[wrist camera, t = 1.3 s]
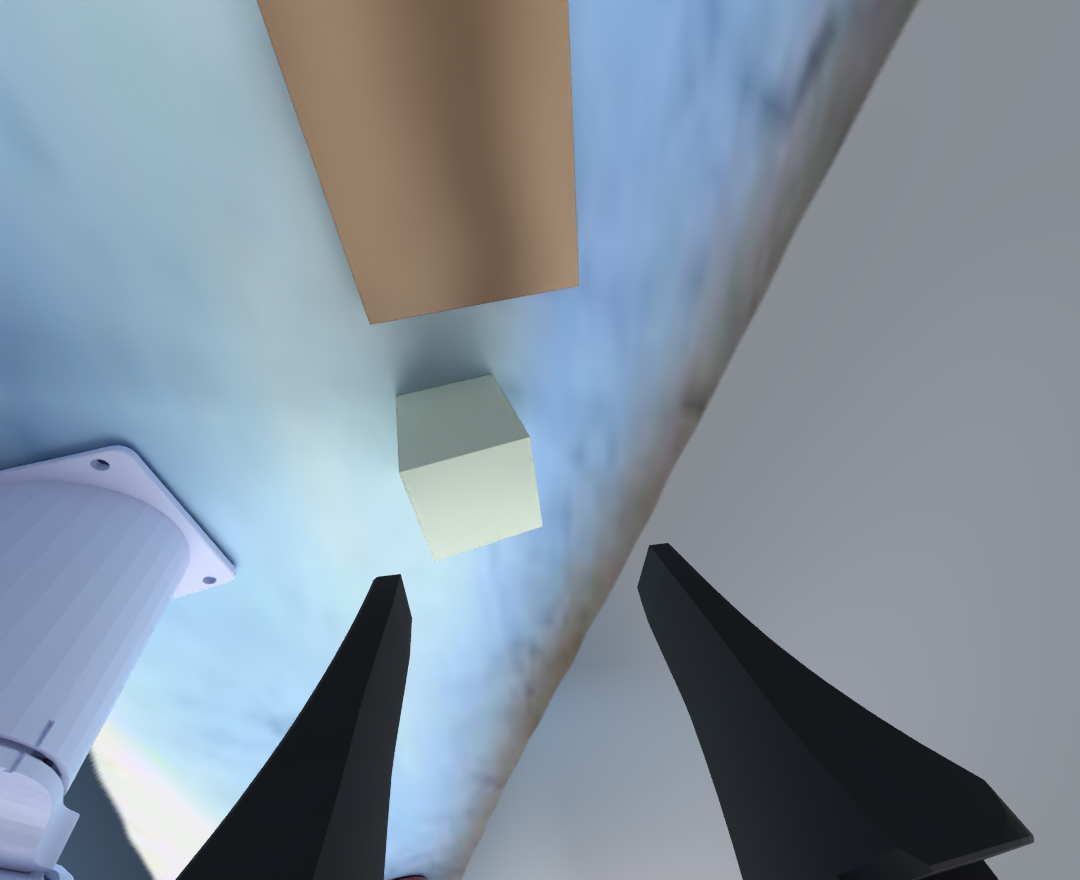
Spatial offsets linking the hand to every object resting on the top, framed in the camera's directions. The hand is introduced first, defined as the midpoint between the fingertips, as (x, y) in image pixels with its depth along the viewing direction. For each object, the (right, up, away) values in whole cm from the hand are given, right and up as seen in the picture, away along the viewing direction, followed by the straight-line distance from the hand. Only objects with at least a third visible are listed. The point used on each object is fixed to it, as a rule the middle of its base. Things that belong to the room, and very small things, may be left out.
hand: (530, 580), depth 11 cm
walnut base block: (-3, +14, +3) cm, 14 cm away
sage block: (-4, +5, +8) cm, 10 cm away
